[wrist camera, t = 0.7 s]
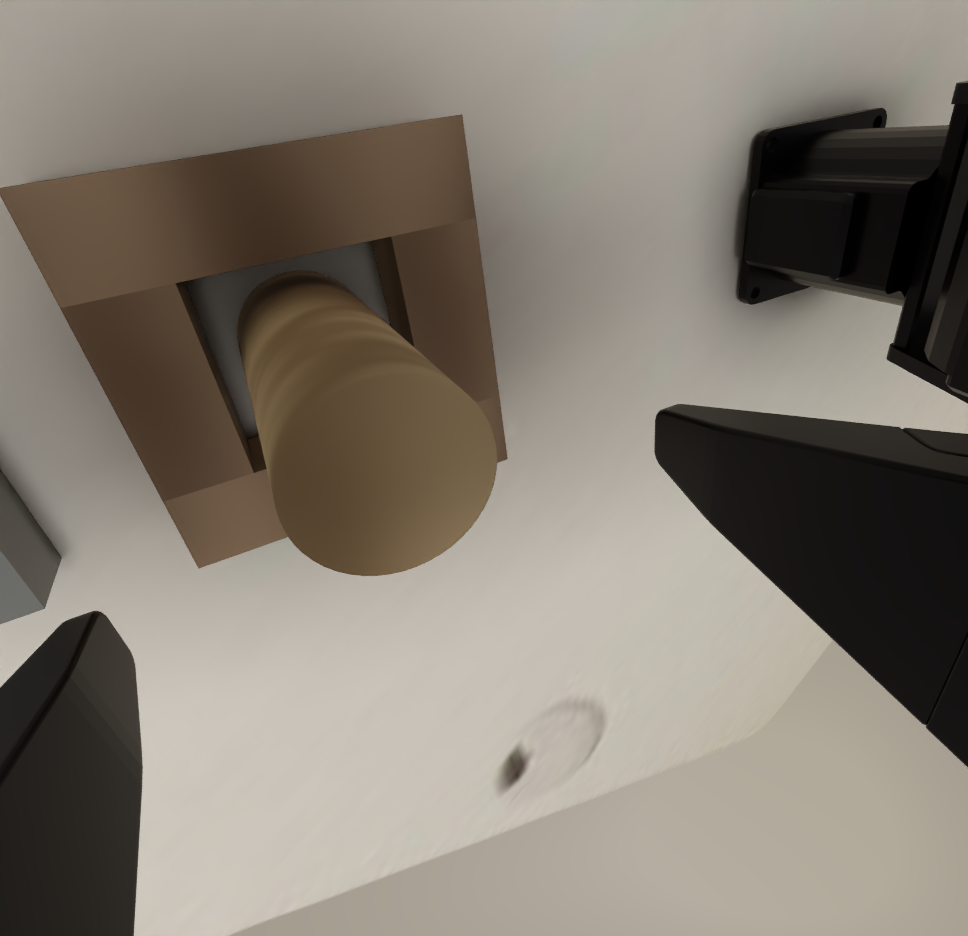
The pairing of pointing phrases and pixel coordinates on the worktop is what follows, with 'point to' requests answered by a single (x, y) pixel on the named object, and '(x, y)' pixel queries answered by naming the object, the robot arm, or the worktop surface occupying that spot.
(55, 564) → the tray
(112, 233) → the square wooden frame
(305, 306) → the dowel
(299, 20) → the worktop surface
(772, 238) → the robot arm
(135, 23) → the worktop surface
